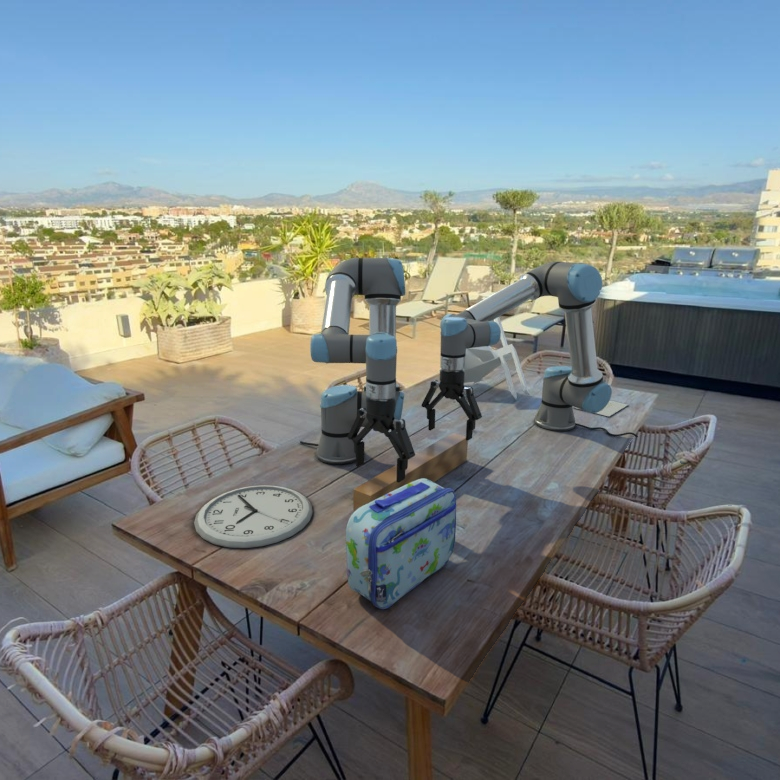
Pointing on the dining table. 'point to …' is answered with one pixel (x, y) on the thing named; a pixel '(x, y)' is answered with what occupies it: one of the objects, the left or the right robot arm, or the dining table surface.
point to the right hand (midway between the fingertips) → (449, 434)
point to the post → (415, 469)
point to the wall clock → (253, 516)
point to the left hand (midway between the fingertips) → (379, 472)
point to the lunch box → (400, 540)
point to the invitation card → (611, 408)
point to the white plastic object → (493, 363)
